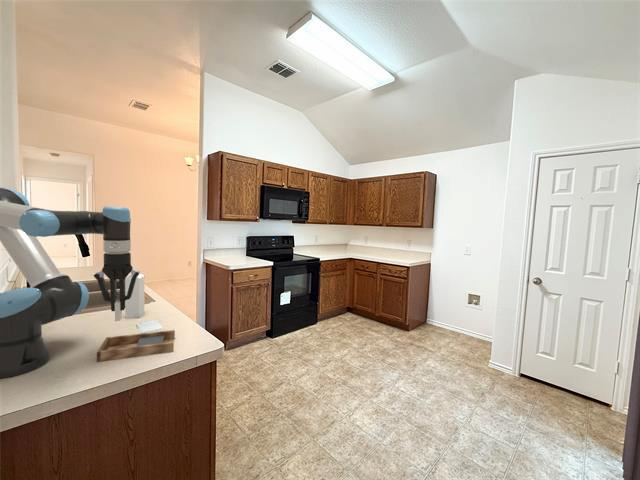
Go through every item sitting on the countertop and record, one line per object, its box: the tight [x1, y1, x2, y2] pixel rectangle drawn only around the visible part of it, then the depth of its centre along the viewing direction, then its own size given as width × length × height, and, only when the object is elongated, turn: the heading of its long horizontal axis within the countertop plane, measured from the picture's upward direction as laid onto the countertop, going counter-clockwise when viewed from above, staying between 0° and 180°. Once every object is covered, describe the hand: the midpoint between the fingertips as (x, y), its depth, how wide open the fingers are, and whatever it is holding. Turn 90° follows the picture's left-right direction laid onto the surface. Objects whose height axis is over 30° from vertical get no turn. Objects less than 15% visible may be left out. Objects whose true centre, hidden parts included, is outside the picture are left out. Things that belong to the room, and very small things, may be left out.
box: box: [96, 329, 176, 363], centre depth 101 cm, size 22×12×4 cm, turn 115°
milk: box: [124, 269, 145, 319], centre depth 133 cm, size 6×6×22 cm
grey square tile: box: [137, 335, 164, 346], centre depth 103 cm, size 8×8×2 cm
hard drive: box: [135, 319, 164, 334], centre depth 121 cm, size 2×8×12 cm
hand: (118, 319), depth 97 cm, fingers closed
